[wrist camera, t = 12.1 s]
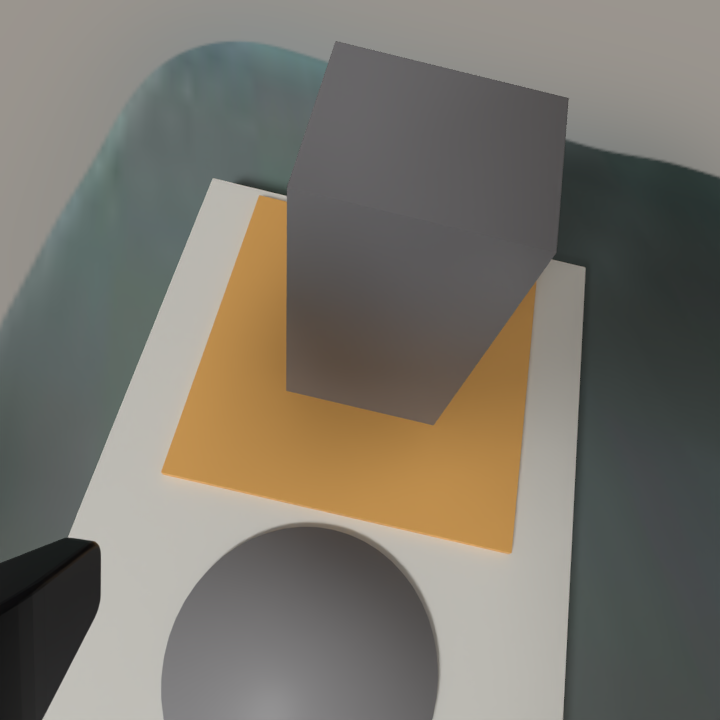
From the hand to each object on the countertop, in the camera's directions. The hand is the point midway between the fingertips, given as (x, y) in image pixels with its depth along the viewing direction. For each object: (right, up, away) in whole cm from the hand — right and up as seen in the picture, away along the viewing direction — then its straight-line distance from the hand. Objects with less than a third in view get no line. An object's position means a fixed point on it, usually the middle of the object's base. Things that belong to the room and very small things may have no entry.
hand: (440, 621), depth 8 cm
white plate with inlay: (-2, -1, +13) cm, 13 cm away
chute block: (-1, +4, +13) cm, 14 cm away
